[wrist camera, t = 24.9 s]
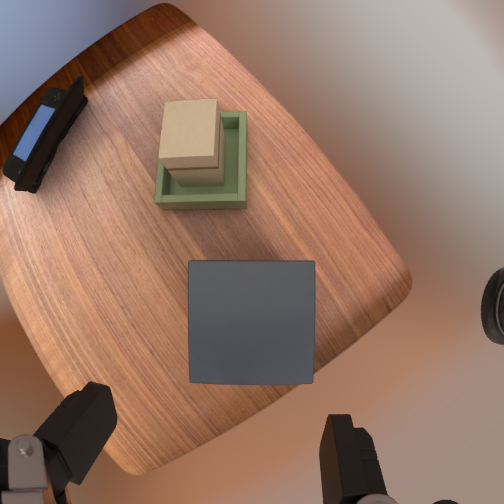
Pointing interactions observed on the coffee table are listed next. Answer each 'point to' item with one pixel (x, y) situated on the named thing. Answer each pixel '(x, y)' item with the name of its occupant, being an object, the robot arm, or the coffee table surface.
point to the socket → (212, 196)
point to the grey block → (251, 322)
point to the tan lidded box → (193, 142)
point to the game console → (44, 135)
